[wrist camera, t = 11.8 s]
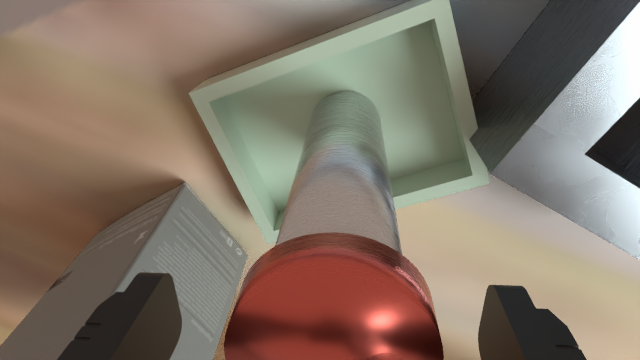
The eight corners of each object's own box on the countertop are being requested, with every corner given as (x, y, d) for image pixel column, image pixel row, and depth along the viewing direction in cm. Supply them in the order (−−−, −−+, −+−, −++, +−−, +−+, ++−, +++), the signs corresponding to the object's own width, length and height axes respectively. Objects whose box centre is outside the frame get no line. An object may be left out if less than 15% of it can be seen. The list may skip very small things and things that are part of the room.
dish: (274, 219, 25) (267, 244, 23) (205, 79, 22) (188, 93, 19) (476, 161, 23) (490, 183, 20) (437, -10, 19) (447, -6, 17)
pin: (360, 179, 23) (366, 451, 10) (285, 139, 22) (192, 378, 9) (408, 109, 21) (492, 339, 8) (328, 62, 20) (284, 236, 7)
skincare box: (187, 176, 24) (-37, 466, 10) (258, 262, 27) (154, 587, 13) (89, 234, 27) (-198, 529, 13) (162, 308, 30) (-12, 620, 16)
